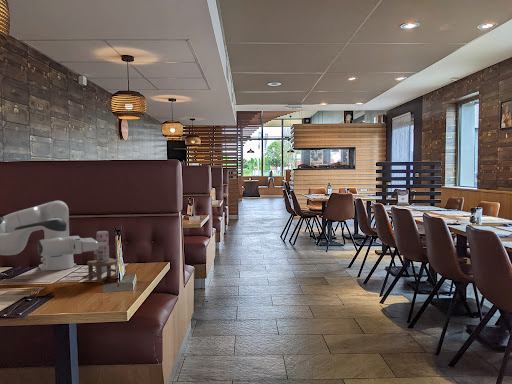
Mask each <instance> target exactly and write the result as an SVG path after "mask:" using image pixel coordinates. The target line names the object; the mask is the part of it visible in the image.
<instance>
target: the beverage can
mask: <svg viewBox="0 0 512 384" xmlns="http://www.w3.org/2000/svg"><path fill="white" fill-rule="evenodd" d="M96 240H97V242H104V241H106V242H107V245H103V246H99V249H97V261H98V262H107V261H108V260H109V258H110V245H109V240H110V239H109V231H107V230H99V231H96Z"/></svg>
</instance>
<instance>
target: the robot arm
mask: <svg viewBox="0 0 512 384" xmlns="http://www.w3.org/2000/svg"><path fill="white" fill-rule="evenodd" d="M69 216H70V212H69V207H68V205H67V203H66V202H64V201H62V200H54V201H48V202H45V203H42V204H40V205H36V206H33V207H29V208H25V209H22V210H17V211H14V212H11V213H8V214H6V215H4V216H0V256H14V255H18V254H20V253H21V252H23V251H24V249H25V248H26V246H27V244H28V241H29V238H30V236H31V234H32V233H33V232H36V231H41V230H42V231H43V232H44V233H43V234H44V238H43V239H39V240H38V242H37V244H36V245H37V246H36V247H37V248H36V249H37V250H36V251H37V254H38V255H39V256H40V257H41V258H40V262H41V264H39V265H38V268H39V269H40V270H41V271H42V272H43V271H44V272H45V271H62V270H67V269H72V268H73V267H75V266H77V263H74V262H75V261H74V255H79V254H82V253H86V252H94V250H97V249H99V246H103V245H107V242H106V241H104V242H97V239H94V238H93V237H84V238H83V237H80V236H79V235H71V236H70V217H69Z"/></svg>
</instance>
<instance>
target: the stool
mask: <svg viewBox="0 0 512 384" xmlns="http://www.w3.org/2000/svg"><path fill="white" fill-rule="evenodd" d="M116 260H117V259H115V258H112V257H109V260H108V261H107V262H98V261H97V260H88V261H86V265H88V266H87V269H88V270H87V271H88V280H94V276H96V282H97V283H98V284H99V283H102V282H103V280H102V279H103V278H102V272H101V267H104V266H107V271H106V276H107V277H110V276H112V272H113V273H115V276H116ZM112 266H114V267H115V269H114V268H112ZM94 267H97V272H96V271H94Z"/></svg>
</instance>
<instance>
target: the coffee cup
mask: <svg viewBox="0 0 512 384" xmlns="http://www.w3.org/2000/svg"><path fill="white" fill-rule="evenodd" d="M93 259H94V260H97V250H93ZM95 272H96V273H97V267H95ZM101 273H107V266H104V267H101Z"/></svg>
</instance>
